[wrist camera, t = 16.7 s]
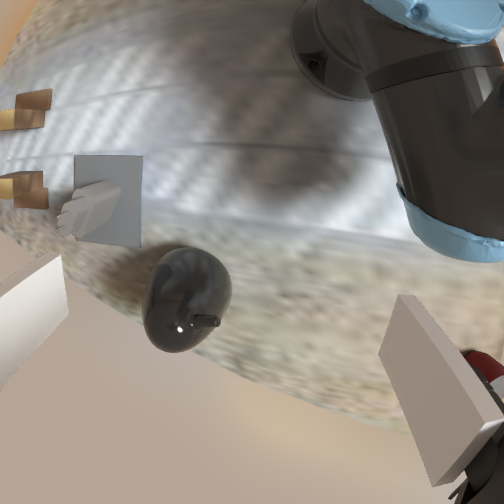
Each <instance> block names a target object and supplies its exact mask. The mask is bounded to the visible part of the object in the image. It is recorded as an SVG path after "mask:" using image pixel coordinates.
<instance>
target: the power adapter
mask: <svg viewBox="0 0 504 504" xmlns="http://www.w3.org/2000/svg"><path fill="white" fill-rule="evenodd" d="M120 194H121V189H120V187H119V186H118V185H116V184H114V183H113V182H111V181H109V180H103V181H100V182H97V183H94V184H91V185H88V186H85V187H82V188H79V189H76V190H75V191H74V193H73V195H72V198H71V201H69V202H67V203H65V204H64V205H63V207H62V210H61V213H60V215H59V216H57V217H56V218H57V219H58V218H59V219H58V222H57V228H58V229H56V230H54V231H53V232H52V234H54V233H56V232H58V231H59V233H60V235H61V236H62V237H64V236H68V235H70V234H72V235H74V236H75V237H77V238H81V237H83V236H84V235H86V234H88V233H89V232H91V231H93V230H94V229H96V228H98V227H99V226H101V225H103V224H104V223H106V222H108V221H109V219H110V217H111V215H112V213H113V210H114V208H115V206H116V203H117V201H118V199H119V197H120Z"/></svg>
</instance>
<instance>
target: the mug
mask: <svg viewBox="0 0 504 504" xmlns="http://www.w3.org/2000/svg"><path fill="white" fill-rule="evenodd" d="M464 358H465V360H466V361H467V362H470V363H471V364H472V365H474V366H475V367H476V368H477V369H479V370H480V371H481V372H482V373H483V375H484V376H485V378H486V379H487V380H488V384H490V385H491V386H492V387H493V389H494V392H496V393H497V395H498V396H499V397H500V399H501V400H502V399H503V397H504V366H503V365H501V364H500V363H499V362H498V361H496V360H495V359H494V358H492V357H491V356H490V355H488V354H486V353H483V352H479V351H472V352H470V353H468V354H467V355H466V356H465V357H464Z"/></svg>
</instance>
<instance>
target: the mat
mask: <svg viewBox="0 0 504 504" xmlns="http://www.w3.org/2000/svg"><path fill="white" fill-rule="evenodd" d="M142 163H143V156H122V155H75V190H76V189H79V188H82V187H85V186H88V185H91V184H94V183H97V182H100V181H103V180H109V181H111V182H113V183H114V184H116V185H118V186H119V187H120V189H121V194H120V197H119V199H118V201H117V203H116V206H115V208H114V210H113V213H112V215H111V217H110V219H109V221H108V222H106V223H104V224H103V225H101V226H99V227H98V228H96V229H94V230H93V231H91V232H89V233H88V234H86V235H84V236H83V237H81V238H77V241H84V242H92V243H100V244H108V245H116V246H125V247H133V248H140V247H141V184H142Z"/></svg>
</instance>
